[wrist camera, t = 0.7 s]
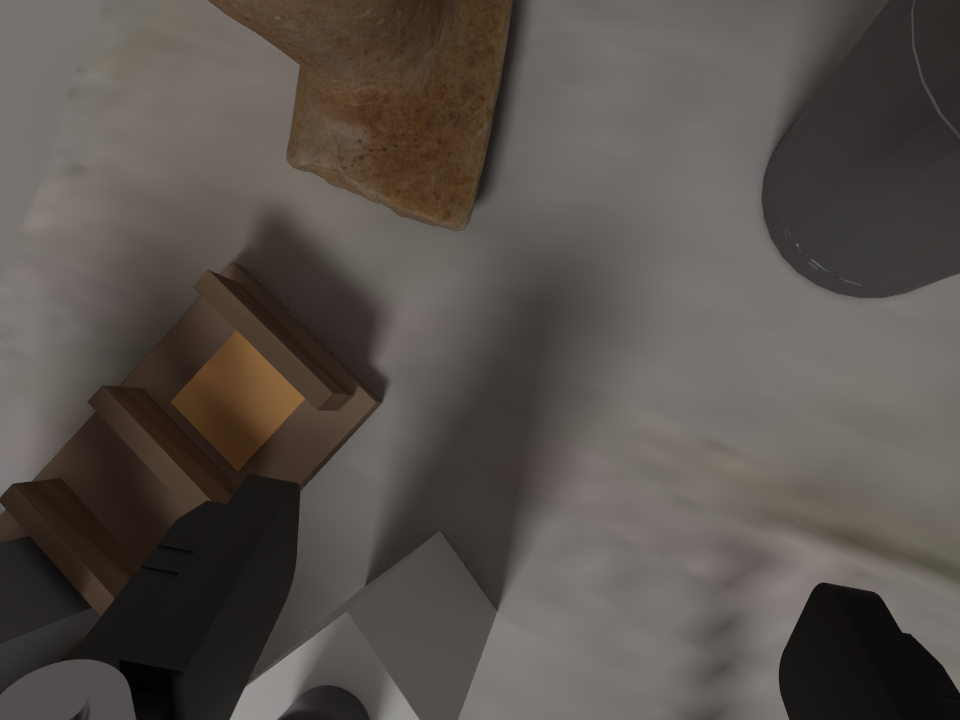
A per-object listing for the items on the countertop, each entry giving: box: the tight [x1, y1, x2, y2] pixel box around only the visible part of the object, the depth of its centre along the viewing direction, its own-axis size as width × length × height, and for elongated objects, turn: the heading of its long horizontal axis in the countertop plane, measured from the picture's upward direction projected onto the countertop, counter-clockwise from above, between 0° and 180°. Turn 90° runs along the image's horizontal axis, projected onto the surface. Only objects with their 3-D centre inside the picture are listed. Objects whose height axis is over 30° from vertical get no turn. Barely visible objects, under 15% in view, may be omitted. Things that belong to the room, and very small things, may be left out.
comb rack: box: [0, 262, 382, 694], centre depth 33 cm, size 22×10×4 cm, turn 137°
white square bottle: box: [230, 531, 497, 720], centre depth 24 cm, size 4×4×17 cm
